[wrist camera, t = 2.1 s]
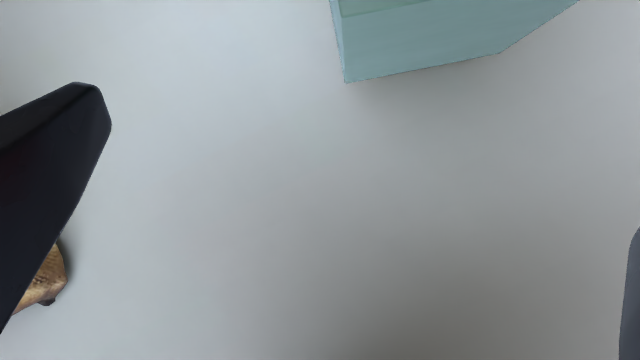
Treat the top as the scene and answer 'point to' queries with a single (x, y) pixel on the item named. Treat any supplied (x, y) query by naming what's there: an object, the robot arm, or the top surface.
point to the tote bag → (430, 31)
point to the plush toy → (45, 282)
